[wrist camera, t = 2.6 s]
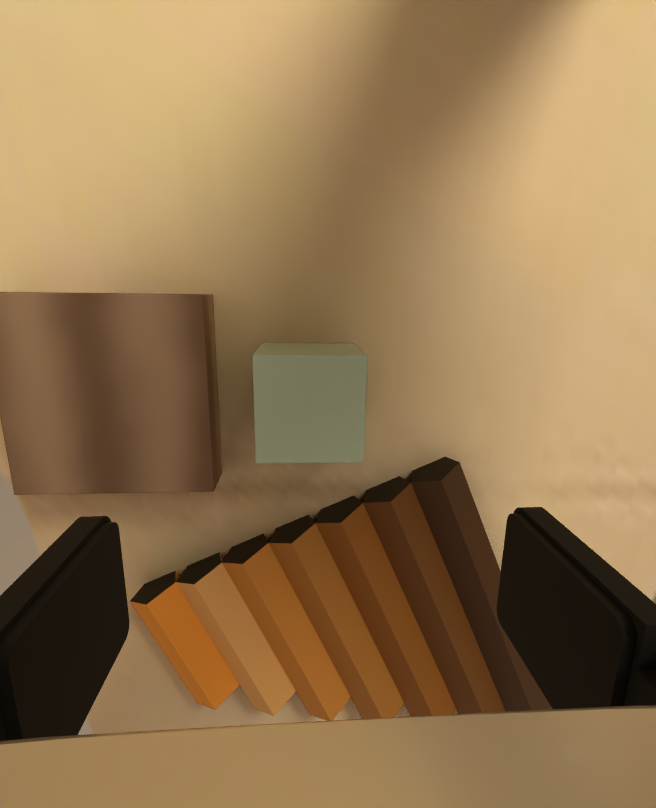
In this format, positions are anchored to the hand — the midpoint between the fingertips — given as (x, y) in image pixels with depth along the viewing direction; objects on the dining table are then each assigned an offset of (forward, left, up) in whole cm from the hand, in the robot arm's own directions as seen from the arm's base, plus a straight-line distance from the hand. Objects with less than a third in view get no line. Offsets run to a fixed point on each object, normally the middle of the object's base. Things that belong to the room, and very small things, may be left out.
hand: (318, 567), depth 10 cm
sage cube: (0, 0, -20) cm, 20 cm away
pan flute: (-4, +21, -20) cm, 29 cm away
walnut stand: (+12, 0, -19) cm, 23 cm away
